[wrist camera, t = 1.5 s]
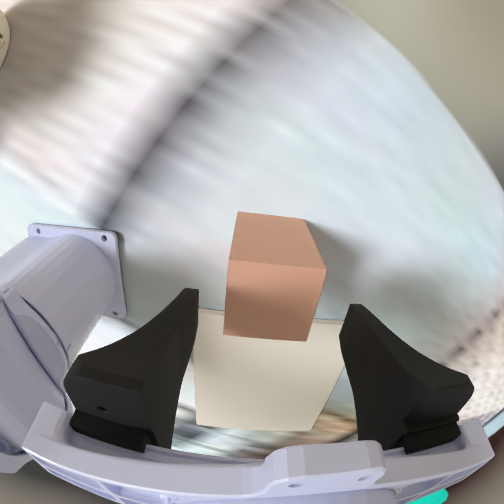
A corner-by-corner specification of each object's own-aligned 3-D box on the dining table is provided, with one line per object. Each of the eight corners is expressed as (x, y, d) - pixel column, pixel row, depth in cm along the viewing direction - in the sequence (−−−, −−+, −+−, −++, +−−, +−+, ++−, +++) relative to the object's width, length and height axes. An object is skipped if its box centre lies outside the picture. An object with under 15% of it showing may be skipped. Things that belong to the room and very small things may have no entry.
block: (232, 270, 21) (222, 334, 15) (237, 211, 19) (228, 259, 13) (293, 276, 21) (306, 341, 15) (304, 219, 19) (327, 269, 13)
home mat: (197, 420, 30) (196, 424, 30) (194, 307, 23) (192, 311, 22) (309, 427, 31) (310, 430, 30) (360, 321, 23) (362, 325, 23)
